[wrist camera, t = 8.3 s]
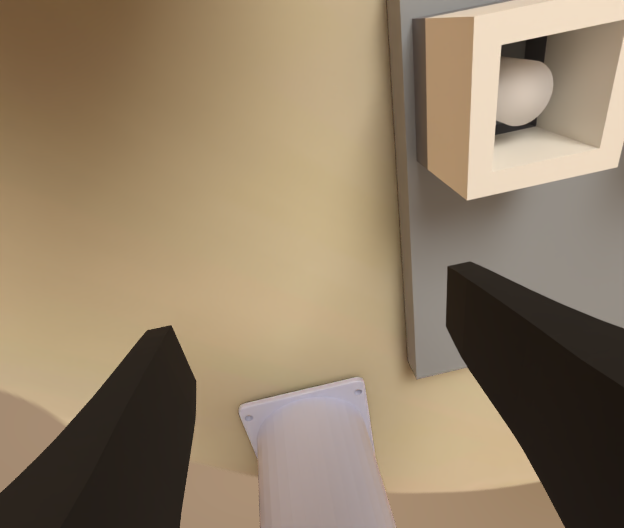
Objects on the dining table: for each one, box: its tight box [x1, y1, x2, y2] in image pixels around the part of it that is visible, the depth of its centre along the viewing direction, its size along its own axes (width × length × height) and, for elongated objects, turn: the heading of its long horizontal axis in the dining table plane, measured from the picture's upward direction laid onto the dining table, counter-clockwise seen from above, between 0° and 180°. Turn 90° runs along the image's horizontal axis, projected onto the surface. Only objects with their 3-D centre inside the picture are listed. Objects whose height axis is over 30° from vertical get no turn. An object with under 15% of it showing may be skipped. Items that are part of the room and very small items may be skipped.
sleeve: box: [412, 0, 624, 200], centre depth 14 cm, size 5×5×4 cm
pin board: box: [387, 0, 624, 379], centre depth 18 cm, size 20×16×4 cm
